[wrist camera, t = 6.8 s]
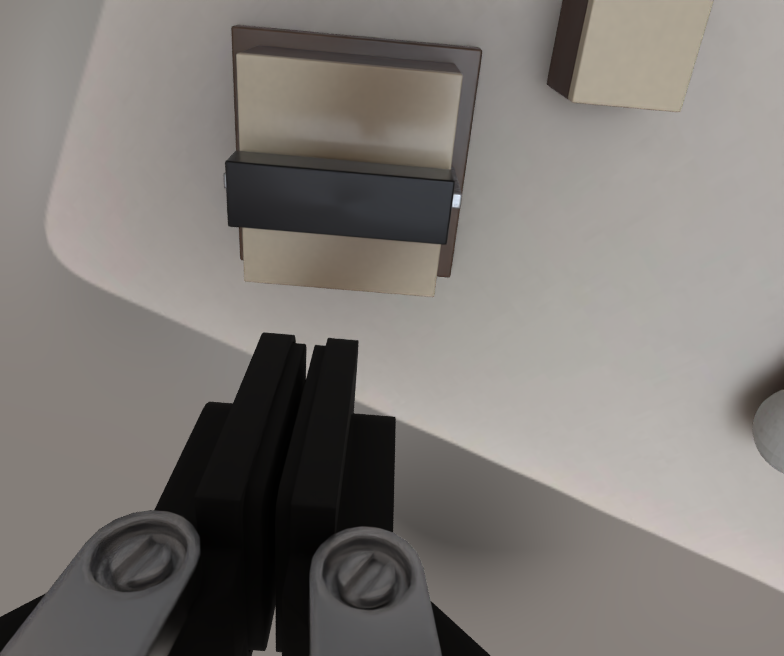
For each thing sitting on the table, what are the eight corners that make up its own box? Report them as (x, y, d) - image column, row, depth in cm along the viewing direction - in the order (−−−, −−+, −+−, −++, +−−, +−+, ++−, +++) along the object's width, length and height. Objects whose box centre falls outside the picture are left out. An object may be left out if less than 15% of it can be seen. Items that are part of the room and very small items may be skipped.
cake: (244, 252, 30) (220, 292, 26) (236, 24, 25) (206, 31, 21) (449, 269, 30) (455, 312, 26) (480, 47, 25) (494, 58, 22)
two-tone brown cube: (546, 84, 26) (571, 102, 22) (569, -36, 24) (602, -40, 20) (639, 93, 26) (681, 112, 22) (670, -26, 24) (722, -28, 20)
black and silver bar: (247, 182, 27) (213, 225, 22) (246, 126, 26) (209, 159, 21) (450, 200, 28) (460, 247, 23) (457, 145, 26) (470, 182, 21)
